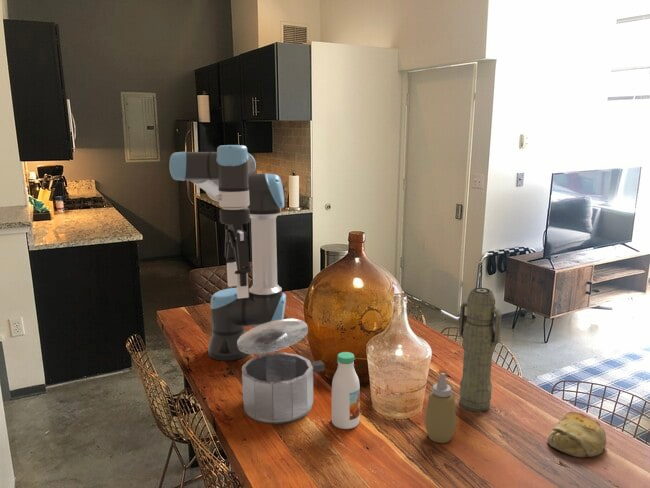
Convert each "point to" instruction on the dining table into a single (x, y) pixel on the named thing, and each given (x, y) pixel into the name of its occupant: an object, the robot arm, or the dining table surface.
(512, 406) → the dining table surface
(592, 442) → the pastry
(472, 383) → the thermos
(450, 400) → the squeeze bottle
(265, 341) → the lid
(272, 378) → the pot
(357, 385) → the milk bottle
